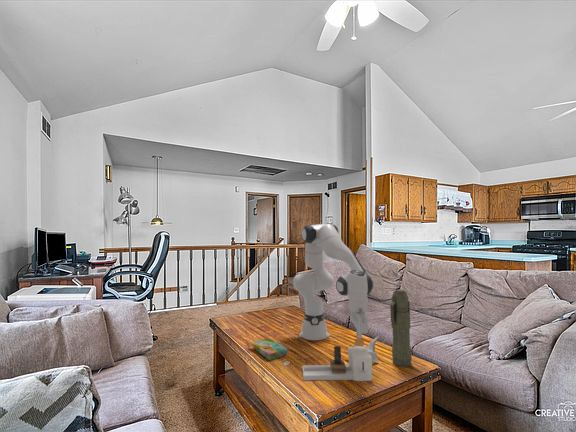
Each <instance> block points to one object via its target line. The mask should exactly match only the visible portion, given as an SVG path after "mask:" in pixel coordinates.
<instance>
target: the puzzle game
mask: <svg viewBox="0 0 576 432" xmlns="http://www.w3.org/2000/svg"><path fill="white" fill-rule="evenodd" d="M250 345H251V347H253V348H254V350H255V351H256V352H257V353H259V354H260V355H261V356H263V357H264V358H265V357H266V358H265V359H267V360H269V361H272V360H275V359H279V358H282V357H285V356H286V355H287V354H288V352H289V351H288V350H289V349H288V348H286V347H285V346H283V345H282V344H280V343H279V342H276V341H275V340H273V339H271V338H265V339H264V338H263V339H260V340H255V341H252V342H250Z"/></svg>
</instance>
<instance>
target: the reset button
mask: <svg viewBox="0 0 576 432" xmlns="http://www.w3.org/2000/svg"><path fill="white" fill-rule="evenodd" d="M364 343H365V340H364V339H362V338H355V339H354V345H356V346H363V347H365V344H364Z"/></svg>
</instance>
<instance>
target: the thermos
mask: <svg viewBox="0 0 576 432" xmlns="http://www.w3.org/2000/svg"><path fill="white" fill-rule="evenodd" d="M410 305H411V304H410V300H409V296H408V293H407V291H405V290H401V289H400V290H399V289H398V290H393V292H392V295H391V302H390V323H391V327H392V348H391V354H392V355H391V357H392V363H393V365H395V366H398V367H402V368H408V367H411V366H412V349H411V341H410V340H411V335H410V329H411V309H410V307H411V306H410Z"/></svg>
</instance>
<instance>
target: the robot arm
mask: <svg viewBox="0 0 576 432" xmlns="http://www.w3.org/2000/svg"><path fill="white" fill-rule="evenodd" d="M301 239H302V240H303V241H304V243H305V246H304V247H305V249H304V263H305V265H306V266H307V267H308V268H311V270H312V269H313V272H306V273H305V272H304V273H299V274H296V275H295V276H294V277H293V279H292V285H293V288H294V289H295V291H297V292H298V293H299V294H300V295H301V296H302V298H303V301H304V302H303V303H304V315H303V316H304V321H303V322H302V323H301V331H300V333H299V335H298V336H299V337H300V338H301V339H305V340H307V341H323V340H325V339H326V338H329V337H331V335H330V333H329V332H328V330H327V329H328V328H327V322H326V321H325V314H324V309H323V308H324V302H323V300H322V298H321V297H319V296H317V295H314V292H318V291H327V290H330V289H332V288H333V287H334V285H335V287H336V291H337V292H338V294H340V295H341V296H343V297H345V296H348V302H347V307H348V311H349V315H350V320H351V322H352V324H353V325H354V327H355V332H356V334H355V335H356V337H357V339H362V337H363V334H368V332H369V325H368V317H367V314H366V312H367V313H368V311H369V298H368V295H370V293H371V292H372V290H373V289H374V281H373V279H372V276H370V275H369V274H368V273H367V272H366V270H365V268H364V267H363V265H362V264H361V262H360V260H359V259H358V257H357V256H356V254H355V253H354V251H353V250H352V249H351V248H349V247H348V246H347V245H346V244H345V243H344V242H343V240H342V238H341V236H340V234H339V228H338V227H337V226H336V224H332V223H318V224H312V225H311V224H308V225H305V226H303V228H302V229H301ZM324 254H325V255H326V257H328V258H331V259H332V260H333V259H334V260H338V261H341V262H344V263H345V264H347V265H348V267H349V268H350V270H349V272H348V273H347V274H344V275H341V276H339V277H337V280H336V282H335V279H334V276H333V275H332V274H331V273H330V272H329V271H328V270H327V269H326V268H325V264H324ZM334 283H335V284H334Z"/></svg>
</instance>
